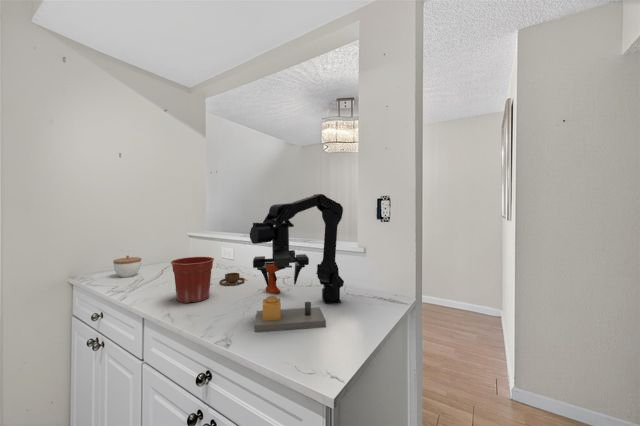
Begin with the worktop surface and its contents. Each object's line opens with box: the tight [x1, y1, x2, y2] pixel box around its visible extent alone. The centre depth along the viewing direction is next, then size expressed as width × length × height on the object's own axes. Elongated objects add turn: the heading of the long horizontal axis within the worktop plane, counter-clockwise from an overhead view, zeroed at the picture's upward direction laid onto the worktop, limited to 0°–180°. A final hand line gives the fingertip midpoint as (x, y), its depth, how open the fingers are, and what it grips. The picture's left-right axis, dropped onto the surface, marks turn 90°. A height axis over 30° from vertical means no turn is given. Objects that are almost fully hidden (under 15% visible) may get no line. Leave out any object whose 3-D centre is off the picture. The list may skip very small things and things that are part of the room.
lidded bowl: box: [112, 255, 142, 278], centre depth 153 cm, size 13×13×11 cm
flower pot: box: [170, 256, 215, 304], centre depth 115 cm, size 16×16×16 cm
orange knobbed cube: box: [262, 295, 282, 321], centre depth 91 cm, size 6×6×6 cm
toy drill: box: [265, 264, 293, 295], centre depth 121 cm, size 5×19×15 cm, turn 45°
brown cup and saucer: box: [210, 272, 249, 287], centre depth 142 cm, size 18×20×6 cm
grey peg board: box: [254, 301, 327, 333], centre depth 92 cm, size 22×12×6 cm, turn 100°
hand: (281, 285), depth 97 cm, fingers open, 9 cm apart
